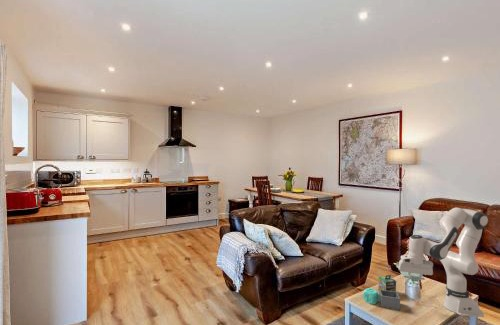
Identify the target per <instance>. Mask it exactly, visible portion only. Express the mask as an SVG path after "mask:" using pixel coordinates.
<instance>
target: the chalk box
mask: <svg viewBox="0 0 500 325" xmlns="http://www.w3.org/2000/svg"><path fill="white" fill-rule="evenodd" d="M391 276H392V275H391V274H387V275H384V276H378V290H379V289H380V290H387V291H394V292H397V281H396V280H395V279H394V278H392V277H391Z"/></svg>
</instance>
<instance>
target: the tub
mask: <svg viewBox="0 0 500 325" xmlns="http://www.w3.org/2000/svg"><path fill="white" fill-rule="evenodd" d="M378 294H379V300H378V302H379V306H380V307H381V308H385V309H390V310H391V309H392V310H397V311H400V310H401V298H400V296H399V293H398V291H396V292H394V291H387V290H380V289H379V288H378Z"/></svg>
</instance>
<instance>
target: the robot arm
mask: <svg viewBox="0 0 500 325" xmlns="http://www.w3.org/2000/svg"><path fill="white" fill-rule="evenodd" d="M438 222H439V223H438V224H439V226H440V228H441V230H442V232H445V236H444V237H443V239H442V240H441V241H440V242H435V241H432V240H429V239H427V238H426V237H424V236H422V235H420V234H412V235H411V236H410V237H409V240H408V254H403V255H400V260H399V262H398V265H397V266H398V270H399V272H400V271H401V272H408V274H409V278H408V279H410V280H412V276H411V275H410V274H411V273H417V274H420V276H419V277H418V278H419V281H422V280H421V277H422V276H423V275H425V276H427V275H428V276H433V275H434V271H433V270H434V263H433V262H432V261H431V260H425V259H424V257H425V256H424V254H425V255H427V256H429V257H432V258H434V259H435V260H437V261H440V262H441V264H442V265H443V267H444V270H445V274H446V285H445V298H444V301H443V303H442V305H443V307H444V308H445V309H447V310H449V311H450V312H453V313H455V314H458V315H459V316H462V317H480V318H484V316H485V313H484V312H483V310H481V308H480V306H479V304H478V302H477V301H476V300H475V299H473V298H472V297H473V294H472V293H471V292H470V291H469V290H467V278H466V277H465V276H464V274H465V275H471V276H473V275H476V274H477V273H478V272H479V269H480V267H479V264H478V262H477V261H476V257H475V252H476V249H477V246H478V244H479V242H480V240H481V238H482V233H483V229H484V228H485V227H486V226H488V223H489V217H488V215H487V214H485V213H484V212H481V211H477V210H473V209H468V208H463V207H453V208H451V209H450V210H449V211H447V212H446V213H445V214H444V215H443V216H441V218H440V220H439V221H438ZM462 225H464V227H463V228H462V229H461V232H459V228H460V227H461V226H462ZM455 241H456V242H455ZM454 243H455V245H456V246H457V248H458V251H459V252H458V253H457V252H455V251H452V250H450V249H451V248H452V246H453V245H454ZM423 277H424V276H423Z"/></svg>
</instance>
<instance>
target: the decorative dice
mask: <svg viewBox="0 0 500 325" xmlns="http://www.w3.org/2000/svg"><path fill="white" fill-rule="evenodd" d="M362 297H363V299H364V301H365V302H366V303H367V304H371V305H376V304H377V303H378V302H379V291H377V290H376V289H374V288H372V287H367V288H365V289H364V291H363V293H362Z"/></svg>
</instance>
